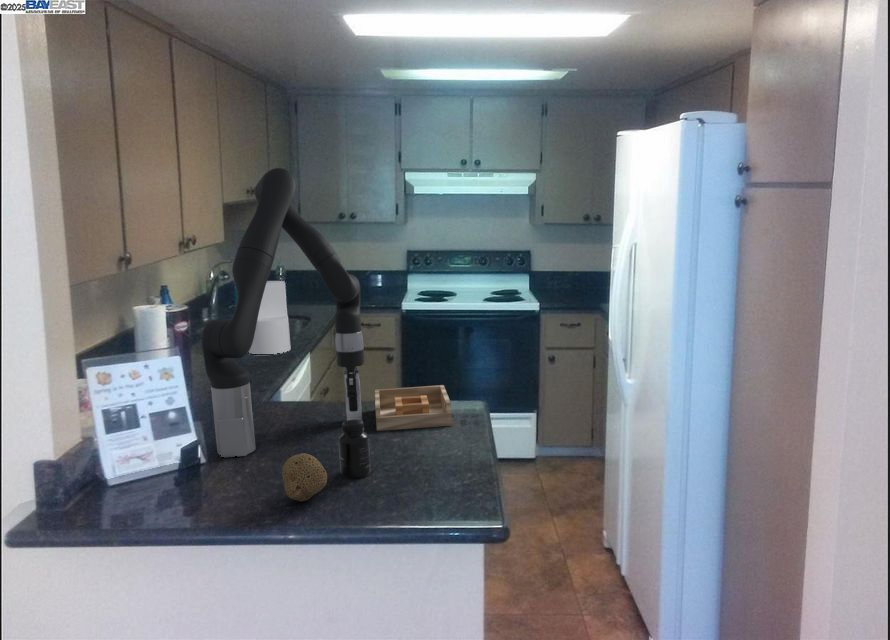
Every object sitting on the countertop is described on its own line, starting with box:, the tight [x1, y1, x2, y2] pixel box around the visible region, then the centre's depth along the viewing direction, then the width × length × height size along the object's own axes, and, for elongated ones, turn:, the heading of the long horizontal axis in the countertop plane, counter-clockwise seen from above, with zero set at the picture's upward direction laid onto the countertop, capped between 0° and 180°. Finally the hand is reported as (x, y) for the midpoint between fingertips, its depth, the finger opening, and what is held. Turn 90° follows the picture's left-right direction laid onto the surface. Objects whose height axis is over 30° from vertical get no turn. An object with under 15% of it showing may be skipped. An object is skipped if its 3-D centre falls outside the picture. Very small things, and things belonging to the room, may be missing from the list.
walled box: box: [374, 384, 453, 432], centre depth 209 cm, size 20×20×6 cm
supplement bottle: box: [338, 420, 372, 480], centre depth 168 cm, size 7×7×12 cm
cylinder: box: [249, 280, 292, 355], centre depth 309 cm, size 17×17×28 cm
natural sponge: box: [281, 452, 328, 502], centre depth 155 cm, size 9×9×10 cm
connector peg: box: [344, 377, 363, 421], centre depth 207 cm, size 4×4×12 cm
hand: (353, 408), depth 208 cm, fingers open, 4 cm apart
